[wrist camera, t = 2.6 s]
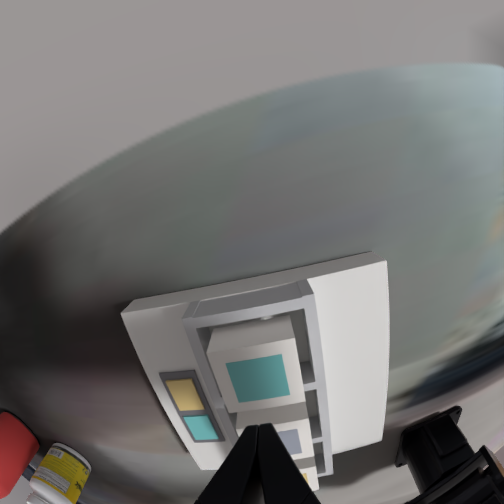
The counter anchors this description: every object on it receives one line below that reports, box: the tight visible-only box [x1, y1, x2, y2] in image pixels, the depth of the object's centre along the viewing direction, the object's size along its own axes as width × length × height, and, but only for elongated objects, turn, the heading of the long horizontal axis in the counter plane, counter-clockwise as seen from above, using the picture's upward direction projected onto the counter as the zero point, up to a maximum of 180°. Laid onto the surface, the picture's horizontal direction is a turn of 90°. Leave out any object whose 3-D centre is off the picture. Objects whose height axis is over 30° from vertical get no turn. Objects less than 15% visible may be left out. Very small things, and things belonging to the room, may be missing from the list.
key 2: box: [294, 456, 319, 491], centre depth 14 cm, size 3×3×2 cm
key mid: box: [236, 402, 314, 460], centre depth 13 cm, size 3×3×2 cm
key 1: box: [206, 315, 306, 413], centre depth 12 cm, size 3×3×2 cm
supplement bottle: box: [26, 443, 91, 504], centre depth 16 cm, size 5×5×10 cm
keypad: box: [120, 251, 389, 477], centre depth 15 cm, size 14×14×4 cm
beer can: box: [0, 412, 39, 499], centre depth 15 cm, size 7×7×12 cm
